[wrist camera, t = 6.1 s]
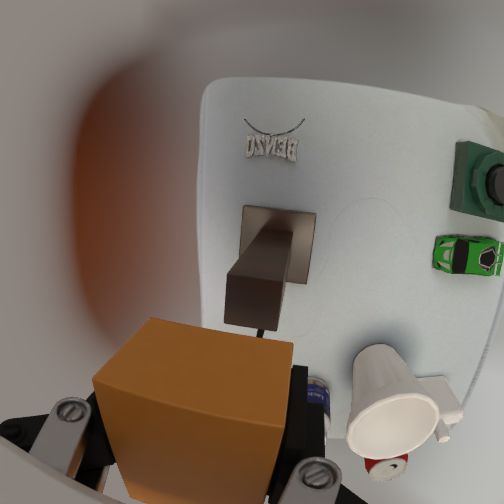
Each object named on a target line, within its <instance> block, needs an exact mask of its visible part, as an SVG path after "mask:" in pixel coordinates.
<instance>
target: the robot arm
mask: <svg viewBox="0 0 504 504" xmlns="http://www.w3.org/2000/svg"><path fill="white" fill-rule="evenodd" d="M307 393H308V367H307V366H299V365H293V368H291V376H290V385H289V395H288V404H287V412H286V421H285V428H284V432H283V436H282V440H281V444H280V448H279V451H278V455H277V459H276V463H275V466H274V470H273V473H272V477H271V480H270V484H269V487H268V491H267V494H266V495H268V496H269V500H268V503H269V504H368V503H366V502H365V501H364V500H362V499H361V498H359V497H358V496H357V495H355V494H354V493H352V492H351V491H350V490H349V489H347V488H346V487H345V486H343V485H342V484H341V480H342V473H341V470H340V468H339V467H338V466H337V465H336V464H335V463H334V462H332V461H331V460H329V459H326V458H325V421H324V404H323V403H318V402H308V401H307ZM114 463H116V460H115V457H114V454H113V451H112V448H111V445H110V442H109V439H108V436H107V433H106V430H105V427H104V423H103V420H102V416H101V413H100V409H99V406H98V402H97V398H96V394H95V391H94V392H93V393H92V394H91V395H90V396H89V397H88V398H87V400H86V401H85V400H84V399H81V398H78V397H68V398H64V399H62V400H60V401H58V402H57V403H56V404H55V406H54V407H53V409H52V410H51V412H50V414H45V415H38V416H30V417H23V418H13V419H8V420H6V421H4V422H2V423H1V424H0V504H124V503H122V502H120V501H117V500H115V499H112V498H110V497H108V496H105V495H103V494H102V493H103V489H104V485H105V482H106V479H107V475H108V471H109V467H110V465H113V464H114Z"/></svg>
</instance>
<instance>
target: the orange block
mask: <svg viewBox="0 0 504 504" xmlns="http://www.w3.org/2000/svg"><path fill="white" fill-rule="evenodd" d="M292 355H293V343H291V342H284V341H277V340H271V339H264V338H258V337H251V336H245V335H239V334H233V333H228V332H222V331H217V330H211V329H206V328H201V327H196V326H191V325H186V324H181V323H176V322H171V321H166V320H162V319H158V318H152V317H151V318H150V319H149V320H148V321H147V322H146V323H145V324H144V325H143V326H142V327H141V328H140V329H139V330H138V331H137V332H136V333H135V334H134V335H133V336H132V337H131V338H130V339H129V340H128V341H127V342H126V343H125V344H124V346H122V347H121V348H120V349H119V350H118V352H116V354H115V355H114V356H113V357H112V358H111V359H110V360H109V361H108V362H107V363H106V364H105V365H104V366H103V367H102V368H101V369H100V370H99V371H98V372H97V373H96V374H95V375H94V376H93V378H92V382H93V386H94V390H95V394H96V398H97V402H98V406H99V409H100V413H101V416H102V420H103V423H104V427H105V430H106V433H107V436H108V439H109V442H110V445H111V448H112V451H113V454H114V457H115V460H116V463H117V465H118V468H119V471H120V473H121V476H122V479H123V481H124V484H125V486H126V488H127V491H128V493H129V495H130V497H131V498H133V499H136V500H139V501H141V502H144V503H147V504H264V501H265V497H266V494H267V491H268V487H269V484H270V480H271V477H272V473H273V470H274V466H275V463H276V459H277V455H278V451H279V448H280V444H281V440H282V436H283V432H284V428H285V421H286V412H287V404H288V395H289V385H290V376H291V366H292Z"/></svg>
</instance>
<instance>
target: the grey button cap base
mask: <svg viewBox="0 0 504 504" xmlns="http://www.w3.org/2000/svg"><path fill="white" fill-rule="evenodd" d="M496 166H503V167H504V153H503V152H500V151H497V150H494V149H492V148H489V147H486V146H483V145H480V144H477V143H474V142H470V141H465V142H459V143H456V157H455V168H454V178H453V187H452V194H451V202H450V209H452V210H455V211H458V212H462V213H466V214H471V215H475V216H479V217H483V218H488V219H492V220H496V221H500V222H504V204H501V203H496V202H494V201H493V200H492V199H491V198H490V197H489V195H488V193H487V190H486V177H487V174H488V172H489V171H490V170H491V169H492V168H493V167H496Z"/></svg>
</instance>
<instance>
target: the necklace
mask: <svg viewBox="0 0 504 504" xmlns="http://www.w3.org/2000/svg"><path fill="white" fill-rule="evenodd" d="M244 120H245V121H246V123H247V120H246V119H244ZM303 120H305V119H303ZM303 120H302V122H303ZM247 124H248V125H249V126H250V124H249V123H247ZM301 124H302V123H301ZM301 124H299V126H300V125H301ZM299 126H298V127H299ZM250 127H251V126H250ZM298 127H296V128H298ZM251 128H253V127H251ZM254 130H256V131H257V132H258V130H257V129H255V128H254ZM293 130H295V129H292V130H291V132H292V131H293ZM260 133H262V134H265V135H266V133H263V132H261V131H260ZM287 133H289V131H288V132H286V134H287ZM283 134H285V133H283ZM283 134H282V135H283ZM268 135H270V136H260V135H256V139H255V137H254V135H248V136H247V138H246V144H245V156H246V158H249V157H252V155H253V154H254V156H257V155H264V149H263V146H262V143H265V140H266V151H265V154H269V153H270V151H271V155H276V151H275V149H276V141H277V139H278V144H280V143H281V142H283V145H280V148H281V149H282V152H281V151H280V149H277V156H280V157H284V158H286V155H287V156H288V159H289V160H291V161H293V162H295V163H296V162H297V158H296V149H297V145H298V139H296V138H290V139H289V141H288V138H285V137H274V136H277V135H279V134H268ZM265 137H266V138H265ZM271 137H272V139H271ZM250 141H252V142H251V151H249V144H250ZM255 141H256V142H257V145H258V148H259V150H258V148H255ZM261 141H262V143H261ZM269 141H271V142H270V144H269ZM286 143H288V149H287V154H286ZM291 144H294V145H293V147H291ZM272 146H273V148H272ZM271 149H272V150H271ZM291 151H293V155H291V154H290V153H291Z"/></svg>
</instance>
